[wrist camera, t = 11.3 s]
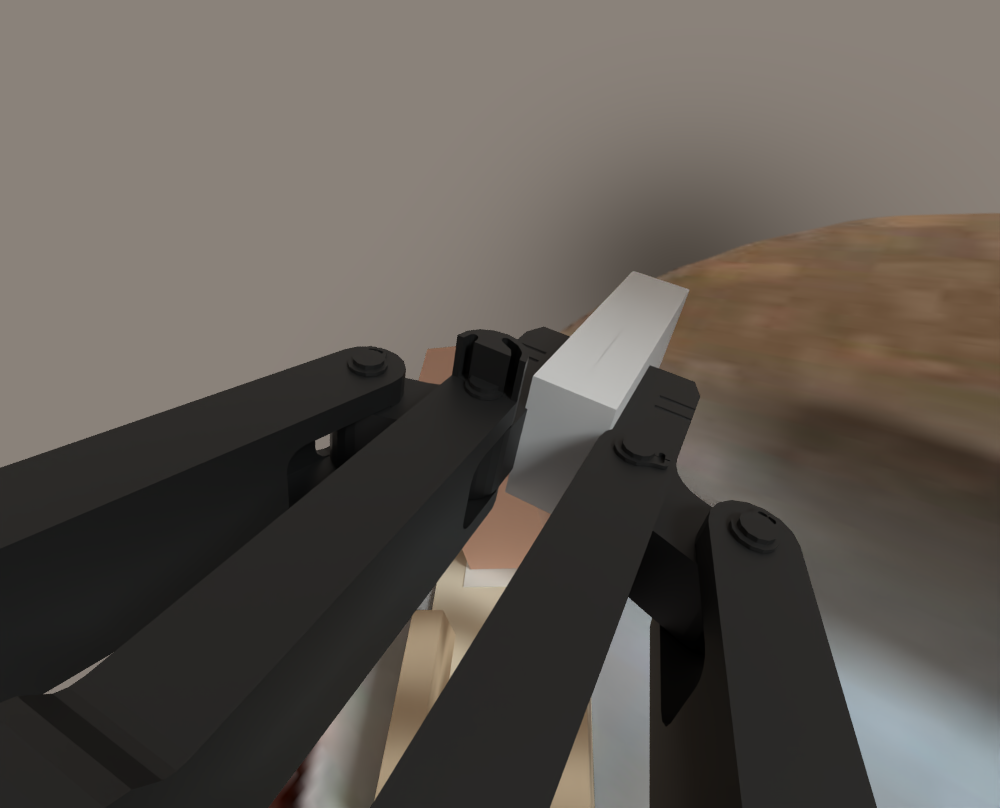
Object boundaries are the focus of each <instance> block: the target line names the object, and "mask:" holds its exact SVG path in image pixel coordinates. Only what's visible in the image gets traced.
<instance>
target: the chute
mask: <svg viewBox="0 0 1000 808" xmlns="http://www.w3.org/2000/svg"><path fill="white" fill-rule="evenodd" d="M517 569H518V568H511V569H470V567H469V565H468V562H467V560H466V557H465V555H464V552H463V550H461V551H460V552H459V554H458V555H457V556H456V558H455V559H454V560H453V562H452V563H451V564H450V566H449V567H448V568H447V570H446V571H445V572H444V574H443V575H442V576H441V578H440V579H439V580H438V582H437V585H436V590H435V596H434V602H433V607H432V610H416V611H415V612H414V614H413V615H412V619H411V624H410V629H409V633H408V638H407V643H406V648H405V653H404V658H403V663H402V668H401V673H400V677H399V682H398V687H397V692H396V697H395V702H394V707H393V712H392V716H391V721H390V726H389V731H388V736H387V741H386V746H385V751H384V755H383V760H382V765H381V770H380V775H379V780H378V785H377V790H376V795H375V799H376V797H377V796H378V794H379V792H380V791H381V789H382V788H383V786H384V784H385V783H386V781H387V780H388V778H389V776H390V775H391V773H392V771H393V770H394V768H395V767H396V765H397V763H398V762H399V760H400V758H401V757H402V755H403V754H404V752H405V750H406V749H407V747H408V745H409V744H410V742H411V741H412V739H413V737H414V736H415V734H416V732H417V731H418V729H419V728H420V726H421V724H422V723H423V721H424V720H425V718H426V716H427V715H428V713H429V711H430V710H431V708H432V707H433V705H434V703H435V702H436V700H437V698H438V697H439V695H440V694H441V692H442V690H443V689H444V687H445V685H446V684H447V682H448V681H449V679H450V677H451V676H452V674H453V672H454V671H455V669H456V668H457V666H458V664H459V663H460V661H461V660H462V658H463V656H464V655H465V653H466V651H467V650H468V648H469V647H470V645H471V643H472V642H473V640H474V638H475V637H476V635H477V634H478V632H479V630H480V629H481V627H482V625H483V624H484V622H485V621H486V619H487V617H488V616H489V614H490V613H491V611H492V609H493V608H494V606H495V604H496V603H497V601H498V600H499V598H500V596H501V595H502V593H503V591H504V590H505V588H506V587H507V585H508V583H509V582H510V580H511V578H512V577H513V575H514V574H515V572H516V570H517ZM375 799H374V801H375ZM550 808H595V800H594V769H593V739H592V708H591V698H590V701H589V704H588V706H587V709H586V712H585V715H584V717H583V720H582V723H581V725H580V728H579V731H578V733H577V736H576V739H575V742H574V744H573V747H572V750H571V752H570V755H569V758H568V760H567V763H566V766H565V768H564V771H563V774H562V777H561V779H560V782H559V785H558V787H557V790H556V793H555V795H554V798H553V801H552V804H551V806H550Z"/></svg>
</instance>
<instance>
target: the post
mask: <svg viewBox="0 0 1000 808" xmlns="http://www.w3.org/2000/svg"><path fill="white" fill-rule="evenodd" d="M455 350H456V346H455V347H444V348H434V349H428V350H427V353H426V357H425V360H424V363H423V367H422V370H421V374H420V377H419V381H422V382H427V383H433V384H441V383H443V382H444V381H445V380H446V379H448V378H449V377H450V376H451V375H452V371H453V364H454V357H455ZM508 477H509V474H508V476H507V477H506V478H505V479H504V481H503V482H502V483H501V485H500V486H499V488H498V493H497V497H496V501H495V503H494V506H493V508H492V510H491V511H490V512H489V514H488V515H487V516H486V518H485V519H484V520H483V522H482V523H481V524H480V526H479V527H478V528H477V530H476V531H475V532H474V534H473V535H472V536H471V538H470V539H469V540H468V542H467V543H466V544H465V546H464V547H463V548H462V550H463V552H464V555H465V557H466V560H467V562H468V565H469V567H470V569H511V568H518V567H519V565H520V564H521V562H522V561H523V559H524V557H525V556H526V554H527V553H528V551H529V549H530V548H531V546H532V544H533V543H534V541H535V540H536V538H537V536H538V535H539V533H540V531H541V530H542V528H543V527H544V525H545V523H546V522H547V520H548V518H549V517H550V515H551V514H550V513H548V512H546V511H544V510H541V509H539V508H537V507H535V506H533V505H531V504H529V503H527V502H525V501H523V500H521V499H519V498H516V497H514V496H512V495H510V494H508V493H506V492H505V490H506V485H507V481H508Z"/></svg>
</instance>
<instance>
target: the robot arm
mask: <svg viewBox="0 0 1000 808" xmlns="http://www.w3.org/2000/svg"><path fill="white" fill-rule="evenodd" d="M688 292H689V289H686V288H683V287H680V286H677V285H674V284H671V283H668V282H665V281H662V280H659V279H656V278H653V277H650V276H647V275H644V274H641V273H638V272H635V271H633V272H632V273H631V274H630V275H629V276H628V277H627V278H626V279H625V280H624V281H623V282H622V283H621V284H620V285H619V286H618V287H617V288H616V289H615V290H614V291H613V293H612V294H611V295H610V296H609V297H608V298H607V299H606V300H605V301H604V302H603V303H602V304H601V305H600V306H599V307H598V308H597V309H596V310H595V311H594V312H593V314H592V315H591V316H590V317H589V318H588V319H587V320H586V321H585V322H584V323H583V324H582V325H581V326H580V327H579V328H578V329H577V330H576V331H575V332H574V333H573V334H572V336H571V337H570V336H567V335H564V334H562V333H559V332H556V331H554V330H551V329H548V328H546V327H541V328H538V329H534V330H531V331H527V332H526V333H525V334H523V336H521V337H520V338H519V339H518V340H517V339H515V338H513V337H512V336H510V335H508V334H504V333H500V332H497V331H492V330H481V329H479V330H471V331H466V332H464V333H462V334H459V335H458V337H457V343H456V350H455V357H454V364H453V371H452V375H451V376H450V377H449V378H448V379H446V380H445V381H444V382H443V383H441V384H433V383H427V382H422V381H417V380H412V379H407V378H405V372H406V368H405V364H404V361H403V360H402V359H401V358H400V357H399V356H398V355H396V354H394V353H392V352H390V351H388V350H385V349H382V348H377V347H372V346H369V347H354V348H349V349H345V350H342V351H339V352H336V353H333V354H330V355H327V356H324V357H321V358H319V359H315V360H313V361H310V362H307V363H304V364H301V365H298V366H295V367H292V368H290V369H286V370H284V371H281V372H278V373H275V374H272V375H269V376H266V377H263V378H260V379H257V380H254V381H252V382H249V383H246V384H243V385H240V386H237V387H234V388H231V389H228V390H225V391H222V392H219V393H217V394H214V395H211V396H208V397H205V398H202V399H199V400H196V401H194V402H190V403H187V404H185V405H182V406H179V407H176V408H173V409H170V410H167V411H165V412H162V413H159V414H155V415H153V416H150V417H147V418H144V419H141V420H138V421H135V422H132V423H129V424H127V425H123V426H121V427H118V428H115V429H112V430H109V431H106V432H103V433H100V434H97V435H95V436H92V437H89V438H86V439H83V440H80V441H77V442H74V443H71V444H68V445H65V446H62V447H60V448H57V449H54V450H51V451H48V452H45V453H42V454H40V455H36V456H34V457H31V458H28V459H25V460H22V461H19V462H16V463H13V464H10V465H7V466H4V467H1V468H0V808H268V807H269V806H270V804H271V803H272V802H273V800H274V799H275V798H276V796H277V795H278V794H279V792H280V791H281V790H282V788H283V787H284V786H285V784H286V783H287V782H288V780H289V779H290V778H291V776H292V775H293V774H294V772H295V771H296V770H297V768H298V767H299V766H300V764H301V763H302V762H303V760H304V759H305V758H306V756H307V755H308V754H309V752H310V751H311V750H312V748H313V747H314V746H315V744H316V743H317V742H318V740H319V739H320V738H321V736H322V735H323V734H324V732H325V731H326V730H327V728H328V727H329V726H330V724H331V723H332V722H333V720H334V719H335V718H336V716H337V715H338V714H339V712H340V711H341V710H342V708H343V707H344V706H345V704H346V703H347V702H348V700H349V699H350V698H351V696H352V695H353V694H354V692H355V691H356V690H357V688H358V687H359V686H360V684H361V683H362V682H363V680H364V679H365V678H366V676H367V675H368V674H369V672H370V671H371V670H372V668H373V667H374V666H375V664H376V663H377V662H378V660H379V659H380V658H381V656H382V655H383V654H384V652H385V651H386V650H387V648H388V647H389V646H390V644H391V643H392V642H393V640H394V639H395V638H396V636H397V635H398V634H399V632H400V631H401V630H402V628H403V627H404V626H405V624H406V623H407V622H408V620H409V619H410V618H411V616H412V615H413V614H414V612H415V611H416V610H417V608H418V607H419V606H420V604H421V603H422V602H423V600H424V599H425V598H426V596H427V595H428V594H429V592H430V591H431V590H432V588H433V587H434V586H435V584H436V583H437V582H438V580H439V579H440V578H441V576H442V575H443V574H444V572H445V571H446V570H447V568H448V567H449V566H450V564H451V563H452V562H453V560H454V559H455V558H456V556H457V555H458V554H459V552H460V551H461V550H462V548H463V547H464V546H465V544H466V543H467V542H468V540H469V539H470V538H471V536H472V535H473V534H474V532H475V531H476V530H477V528H478V527H479V526H480V524H481V523H482V522H483V520H484V519H485V518H486V516H487V515H488V514H489V512H490V511H491V510H492V508H493V506H494V503H495V501H496V497H497V493H498V488H499V486H500V485H501V483H502V482H503V481H504V479H505V478H506V477H507V476H508V474H509V477H508V481H507V485H506V490H505V492H506V493H508V494H510V495H512V496H514V497H516V498H519V499H521V500H523V501H525V502H527V503H529V504H531V505H533V506H535V507H537V508H539V509H541V510H544V511H546V512H548V513H550V514H551V515H550V517H549V518H548V520H547V522H546V523H545V525H544V527H543V528H542V530H541V531H540V533H539V535H538V536H537V538H536V540H535V541H534V543H533V544H532V546H531V548H530V549H529V551H528V553H527V554H526V556H525V557H524V559H523V561H522V562H521V564H520V565H519V567H518V569H517V570H516V572H515V574H514V575H513V577H512V578H511V580H510V582H509V583H508V585H507V587H506V588H505V590H504V591H503V593H502V595H501V596H500V598H499V600H498V601H497V603H496V604H495V606H494V608H493V609H492V611H491V613H490V614H489V616H488V617H487V619H486V621H485V622H484V624H483V625H482V627H481V629H480V630H479V632H478V634H477V635H476V637H475V638H474V640H473V642H472V643H471V645H470V647H469V648H468V650H467V651H466V653H465V655H464V656H463V658H462V660H461V661H460V663H459V664H458V666H457V668H456V669H455V671H454V672H453V674H452V676H451V677H450V679H449V681H448V682H447V684H446V685H445V687H444V689H443V690H442V692H441V694H440V695H439V697H438V698H437V700H436V702H435V703H434V705H433V707H432V708H431V710H430V711H429V713H428V715H427V716H426V718H425V720H424V721H423V723H422V724H421V726H420V728H419V729H418V731H417V732H416V734H415V736H414V737H413V739H412V741H411V742H410V744H409V745H408V747H407V749H406V750H405V752H404V754H403V755H402V757H401V758H400V760H399V762H398V763H397V765H396V767H395V768H394V770H393V771H392V773H391V775H390V776H389V778H388V780H387V781H386V783H385V784H384V786H383V788H382V789H381V791H380V792H379V794H378V796H377V797H376V799H375V801H374V802H373V804H372V805H371V807H370V808H550V806H551V804H552V801H553V798H554V795H555V793H556V790H557V787H558V785H559V782H560V779H561V777H562V774H563V771H564V768H565V766H566V763H567V760H568V758H569V755H570V752H571V750H572V747H573V744H574V742H575V739H576V736H577V733H578V731H579V728H580V725H581V723H582V720H583V717H584V715H585V712H586V709H587V706H588V704H589V701H590V698H591V696H592V693H593V690H594V688H595V685H596V682H597V680H598V677H599V674H600V671H601V669H602V666H603V663H604V661H605V658H606V655H607V653H608V650H609V647H610V644H611V642H612V639H613V636H614V634H615V631H616V628H617V626H618V623H619V620H620V618H621V615H622V612H623V609H624V607H625V604H626V601H627V599H628V597H629V598H630V599H631V600H632V601H634V602H635V603H636V604H637V605H638V606H639V607H640V608H642V609H643V610H644V611H645V612H646V613H647V614H648V615H650V616H651V617H652V621H651V625H650V808H877V806H876V803H875V799H874V796H873V793H872V789H871V786H870V782H869V779H868V776H867V772H866V769H865V765H864V762H863V759H862V755H861V752H860V748H859V745H858V742H857V738H856V735H855V731H854V728H853V725H852V721H851V718H850V714H849V711H848V708H847V704H846V701H845V697H844V694H843V690H842V687H841V684H840V680H839V677H838V673H837V670H836V667H835V663H834V660H833V656H832V653H831V650H830V646H829V643H828V639H827V636H826V633H825V629H824V626H823V622H822V619H821V616H820V612H819V609H818V605H817V602H816V599H815V595H814V592H813V588H812V585H811V582H810V578H809V575H808V571H807V568H806V565H805V561H804V558H803V554H802V551H801V548H800V545H799V543H798V541H797V540H796V538H795V536H794V534H793V532H792V531H791V530H790V529H789V528H788V527H787V526H786V525H785V524H784V523H783V522H782V521H781V520H780V519H778V518H777V517H775V516H774V515H772V514H771V513H769V512H768V511H766V510H765V509H762V508H760V507H757V506H755V505H752V504H750V503H747V502H740V501H734V500H730V501H724V502H719V503H717V504H716V505H715V506H714V507H713V508H712V507H711V506H710V505H708V504H707V503H705V502H704V501H702V500H701V499H700V498H698V497H697V496H696V495H695V494H694V493H692V492H691V491H690V490H689V489H688V488H687V486H686V485H685V484H684V483H683V482H682V480H681V478H680V476H679V475H678V472H677V468H676V463H677V458H678V455H679V452H680V450H681V447H682V444H683V441H684V439H685V436H686V433H687V431H688V428H689V425H690V423H691V420H692V417H693V415H694V412H695V409H696V406H697V404H698V401H699V398H700V395H699V392H698V390H697V387H696V384H695V382H693V381H691V380H688V379H685V378H683V377H680V376H677V375H675V374H672V373H669V372H667V371H664V370H662V369H659V366H660V364H661V361H662V359H663V356H664V354H665V351H666V349H667V346H668V343H669V341H670V338H671V336H672V333H673V331H674V328H675V326H676V323H677V320H678V318H679V315H680V313H681V310H682V308H683V305H684V302H685V300H686V297H687V295H688ZM328 434H330V446H329V447H327V448H325V449H321V450H317V451H316V449H315V440H317V439H319V438H321V437H324V436H326V435H328ZM113 652H114V653H113ZM110 654H111V655H110ZM108 655H110V656H109V657H108V658H106V659H105V660H104V661H103V662H102V663H100V664H99V665H98V666H97V667H95V668H94V669H93V670H92V671H90V672H89V673H88V674H87V675H86V676H84V677H83V678H81V679H80V680H78V681H77V682H75V683H74V684H73V685H71V686H70V687H68V688H65V689H63V690H61V691H58V692H56V693H54V694H44V693H46V692H47V691H49V690H51V689H52V688H54V687H56V686H57V685H59V684H61V683H63V682H64V681H66V680H68V679H69V678H71V677H73V676H74V675H76V674H78V673H80V672H81V671H83V670H85V669H86V668H88V667H90V666H91V665H93V664H95V663H96V662H98V661H100V660H102V659H103V658H105V657H107V656H108Z"/></svg>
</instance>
